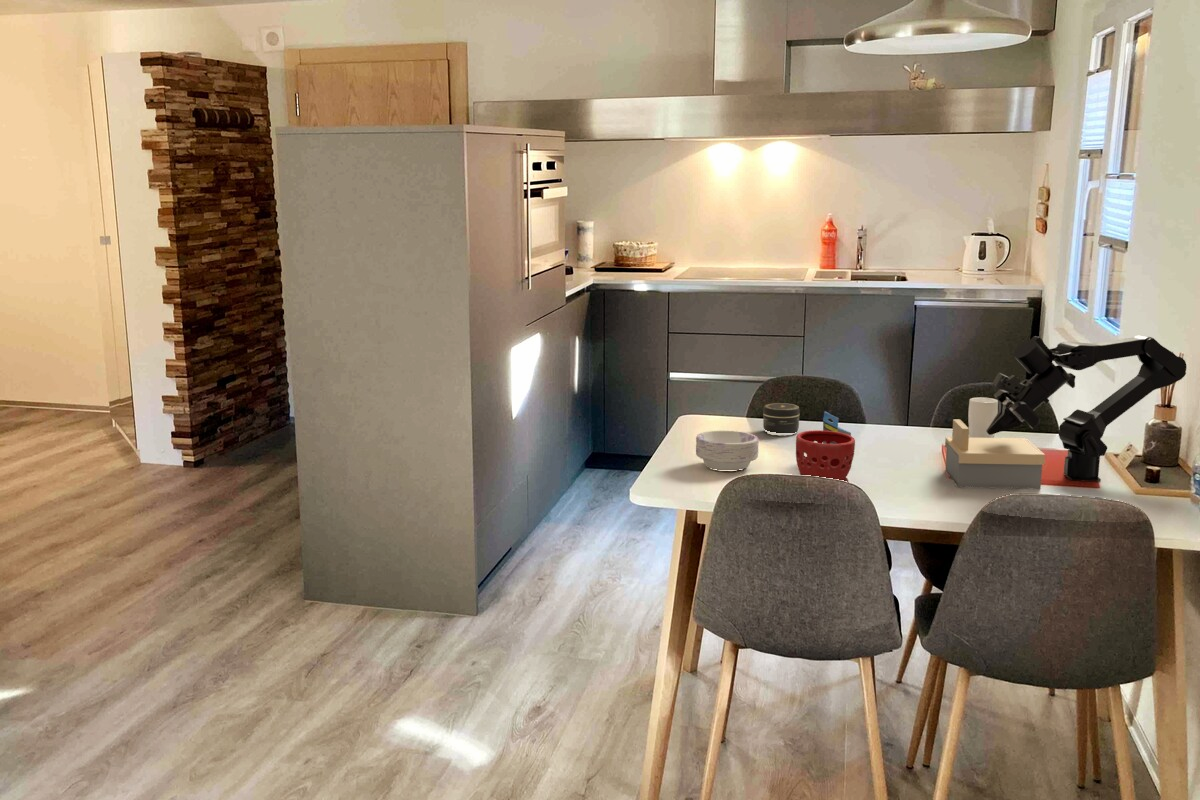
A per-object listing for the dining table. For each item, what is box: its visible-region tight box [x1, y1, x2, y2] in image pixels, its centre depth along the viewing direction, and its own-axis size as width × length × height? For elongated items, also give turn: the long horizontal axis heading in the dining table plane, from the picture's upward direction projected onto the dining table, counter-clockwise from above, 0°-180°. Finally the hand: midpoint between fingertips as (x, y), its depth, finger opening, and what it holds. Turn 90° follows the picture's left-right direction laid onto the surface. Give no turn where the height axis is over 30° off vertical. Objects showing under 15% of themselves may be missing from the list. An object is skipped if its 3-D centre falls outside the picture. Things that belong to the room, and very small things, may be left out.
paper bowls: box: [695, 429, 760, 470], centre depth 258 cm, size 15×15×8 cm
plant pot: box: [795, 429, 856, 483], centre depth 240 cm, size 13×13×12 cm
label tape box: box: [822, 411, 852, 460], centre depth 261 cm, size 9×4×12 cm, turn 12°
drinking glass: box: [968, 396, 999, 438], centre depth 263 cm, size 7×7×15 cm
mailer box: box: [944, 443, 1043, 490], centre depth 244 cm, size 18×14×7 cm
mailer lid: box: [944, 418, 1046, 466], centre depth 243 cm, size 18×16×7 cm
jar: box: [762, 402, 800, 433], centre depth 295 cm, size 10×10×8 cm
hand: (987, 433), depth 243 cm, fingers closed
